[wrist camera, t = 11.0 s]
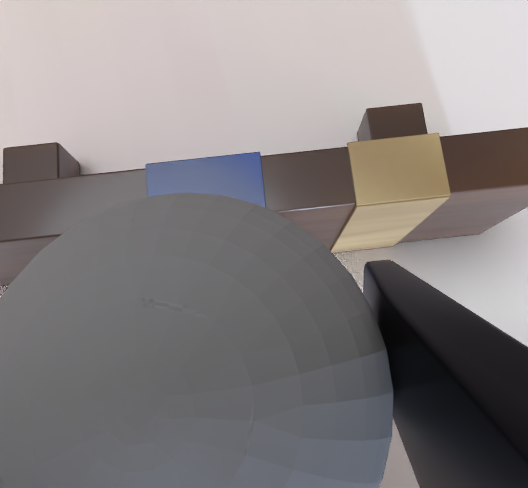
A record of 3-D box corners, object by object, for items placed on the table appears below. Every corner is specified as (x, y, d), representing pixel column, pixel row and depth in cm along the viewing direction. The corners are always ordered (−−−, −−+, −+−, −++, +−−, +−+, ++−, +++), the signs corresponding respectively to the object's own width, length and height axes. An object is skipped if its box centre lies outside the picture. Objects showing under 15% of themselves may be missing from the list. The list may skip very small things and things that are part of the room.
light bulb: (100, 318, 15) (-242, 247, 5) (283, 241, 15) (299, 36, 5) (170, 520, 13) (-102, 956, 4) (368, 430, 14) (590, 610, 4)
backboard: (480, 236, 18) (580, 182, 12) (-24, 291, 18) (-167, 263, 12) (457, 121, 19) (538, 20, 13) (-22, 172, 19) (-153, 94, 13)
